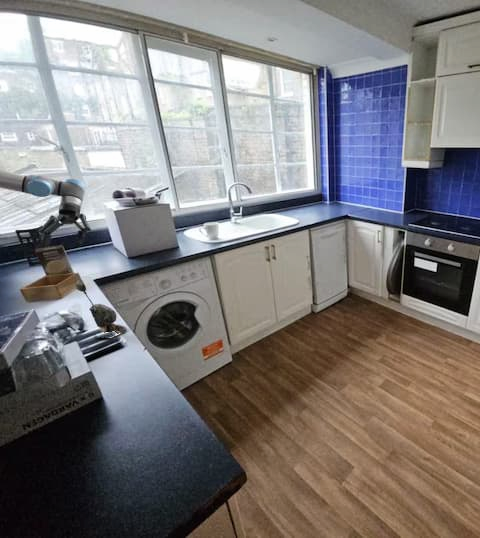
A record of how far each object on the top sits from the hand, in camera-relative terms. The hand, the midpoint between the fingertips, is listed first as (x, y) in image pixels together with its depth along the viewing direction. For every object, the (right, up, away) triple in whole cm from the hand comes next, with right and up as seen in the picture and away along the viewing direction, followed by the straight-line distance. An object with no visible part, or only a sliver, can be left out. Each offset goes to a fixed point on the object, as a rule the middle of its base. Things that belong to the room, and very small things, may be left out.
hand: (62, 245), depth 139 cm
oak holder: (+11, -22, -13) cm, 28 cm away
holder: (-32, -8, +22) cm, 40 cm away
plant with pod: (+60, -33, -43) cm, 81 cm away
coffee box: (+2, -17, -1) cm, 17 cm away
